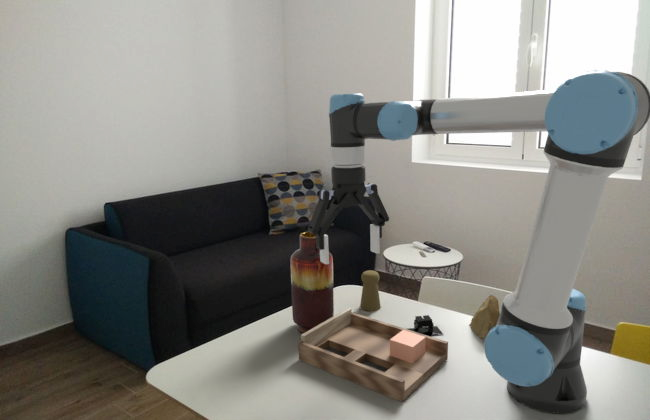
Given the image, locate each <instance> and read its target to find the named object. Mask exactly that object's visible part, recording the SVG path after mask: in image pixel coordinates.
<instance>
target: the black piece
mask: <svg viewBox="0 0 650 420" xmlns="http://www.w3.org/2000/svg"><path fill="white" fill-rule="evenodd" d="M407 329H408V330H411V331H414V332H417V333H421V334H424V335H427V336H430V337H440V336H444V333H443V332H442V331H441V330H440V328H439V326H437V325H434V322H433V319H432V318H431V317H430V315H429V314H428V315H427V314H426V315H417V316H416V315H415V318H414V320H413V327H412V328H411V327H410V328H407Z"/></svg>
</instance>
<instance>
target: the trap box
mask: <svg viewBox="0 0 650 420" xmlns="http://www.w3.org/2000/svg"><path fill="white" fill-rule="evenodd" d="M402 330H405V331H408V332H411V333H415V334H418V335H421V336H424V337H426V345H425V353H424V354H423V355H422V356H421V357H420V358H418V359H417V360H416V361H415V362H414V363H410V362H407V361H404V360H401V359H399V358H396V357H393V356H390V339H391V338H393V337H394V336H395V335H397V334H398V333H400V332H401V331H402ZM297 344H298V347H297V349H298V361H301V362H304V363H306V364H308V365H311V366H313V367H316V368H318V369H320V370H323V371H325V372H328V373H330V374H333V375H335V376H338V377H339V378H342V379H344V380H347V381H349V382H352V383H355V384H357V385H358V386H362V387H364V388H367V389H369V390H372V391H374V392H377V393H378V394H381V395H384V396H386V397H388V398H391V399H393V400H396V401H398V402H400V403H403V402H404V400H406V399H407V398H408V397H409V396H410V395H411V394H413V392H414V391H416V390H417V388H419V387H420V386H421V385H422V384H423V383H424V382H425V381H426V380H427V379H428V378H430V377H431V376H432V375H433V374H434V373H435V372H436V371H437V370H438V369H440V367H441V366H442V365H444V364H445V362H447V360H449V359H448V357H449V356H448V355H449V352H448V351H449V341H446V340H443V339H440V338H436V337H435V336H433V337H430V336H427V335H424V334H421V333H417V332H414V331H411V330H408V328H404V327H401V326H398V325H394V324H392V323H388V322H385V321H382V320H378V319H375V318H371V317H368V316H365V315H363V314H358V313H355V312H352V308H351V307H347V308H346V309H344V310H342V311H340V312H339V313H337V314H334V316H333V317H332V318H330V319H328V320H326V321H325V322H323V323H321V324H319V325H318V326H316V327H314V328H312V329H310V330H309V331H307V332H305V333H303V334H302V333H301V335H300V340H299V341H298V342H297Z"/></svg>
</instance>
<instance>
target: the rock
mask: <svg viewBox="0 0 650 420" xmlns="http://www.w3.org/2000/svg"><path fill="white" fill-rule="evenodd" d="M499 315H500V304H499V299H498V298H497V297H496V296H494V295H492V294H490V295H489V296H488V297H487V298H486V299H485V300H484V301H483V302H482V304H481V305H480V306H479V308H478V310H477V311H475V314H474V315H473V317H472V318H471V320H470V321H471V322H470V324H469V325H468V326H470V328H471V330H472V332H474V333H475V334H476V335H477V336H479V337H480V338H481V339H483V340H485V339H486V336H487V335H488V333H489V331H490V330H491V329H492V328H493V327H495V326H496V324H497V322H498V319H499Z"/></svg>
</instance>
